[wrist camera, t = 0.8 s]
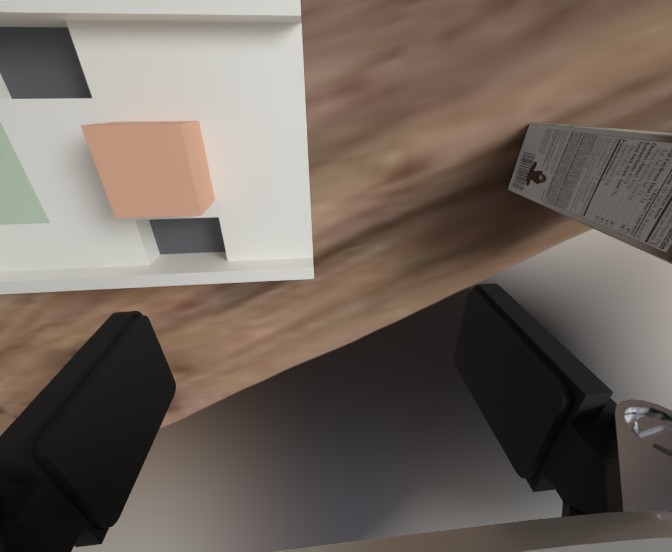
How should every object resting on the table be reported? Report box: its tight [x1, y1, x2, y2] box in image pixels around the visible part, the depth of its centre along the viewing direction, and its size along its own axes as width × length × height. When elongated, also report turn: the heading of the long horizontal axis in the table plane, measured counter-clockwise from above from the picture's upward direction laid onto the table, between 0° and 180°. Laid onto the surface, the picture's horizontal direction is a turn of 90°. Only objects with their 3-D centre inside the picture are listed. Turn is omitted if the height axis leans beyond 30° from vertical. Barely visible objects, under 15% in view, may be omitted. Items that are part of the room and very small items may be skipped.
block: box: [81, 121, 215, 218], centre depth 23 cm, size 6×6×4 cm
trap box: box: [0, 0, 314, 294], centre depth 24 cm, size 20×30×4 cm, turn 90°
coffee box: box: [508, 123, 672, 264], centre depth 22 cm, size 9×6×16 cm
